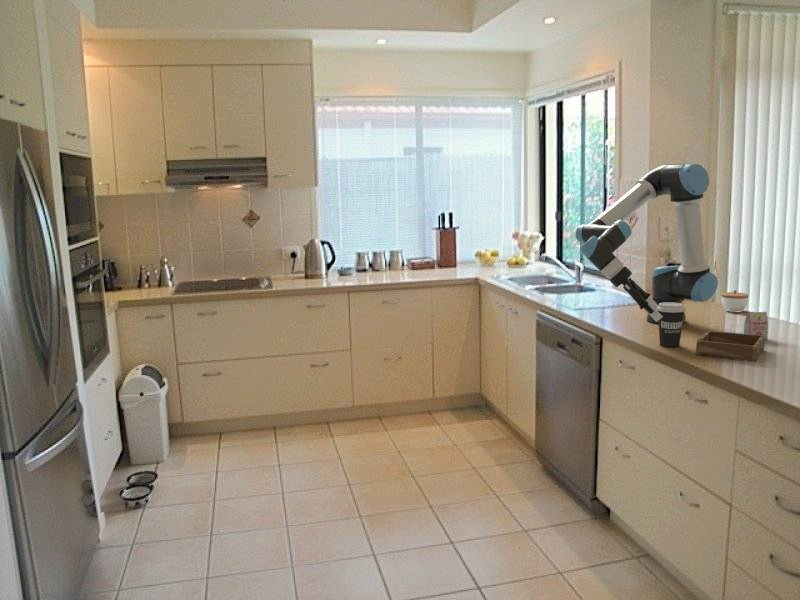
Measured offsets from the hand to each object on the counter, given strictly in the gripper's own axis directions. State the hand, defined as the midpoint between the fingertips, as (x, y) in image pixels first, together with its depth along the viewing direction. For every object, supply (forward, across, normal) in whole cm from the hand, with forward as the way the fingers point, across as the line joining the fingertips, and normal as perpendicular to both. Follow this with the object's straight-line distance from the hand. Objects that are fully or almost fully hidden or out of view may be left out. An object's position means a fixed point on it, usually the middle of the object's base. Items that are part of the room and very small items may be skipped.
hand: (659, 315), depth 245 cm
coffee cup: (+10, -1, -5) cm, 12 cm away
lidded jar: (+30, -74, +14) cm, 81 cm away
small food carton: (+31, -19, +16) cm, 40 cm away
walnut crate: (+24, +5, +8) cm, 26 cm away
